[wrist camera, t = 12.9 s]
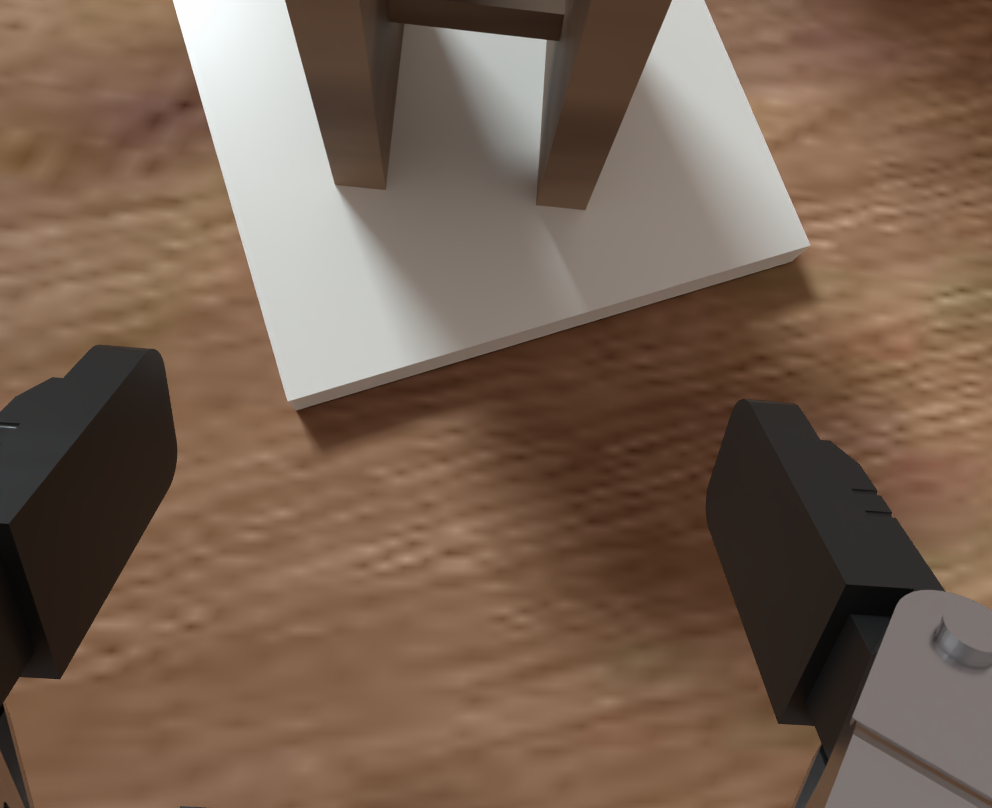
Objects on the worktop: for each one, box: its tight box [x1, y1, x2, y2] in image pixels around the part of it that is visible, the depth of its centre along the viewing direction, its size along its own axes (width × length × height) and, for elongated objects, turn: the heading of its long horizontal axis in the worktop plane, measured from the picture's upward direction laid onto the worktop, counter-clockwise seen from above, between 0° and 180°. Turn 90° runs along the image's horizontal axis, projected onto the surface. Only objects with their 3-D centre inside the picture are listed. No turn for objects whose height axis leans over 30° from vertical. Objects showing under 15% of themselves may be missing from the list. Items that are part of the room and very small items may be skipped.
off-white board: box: [173, 0, 810, 410], centre depth 19 cm, size 13×13×1 cm
